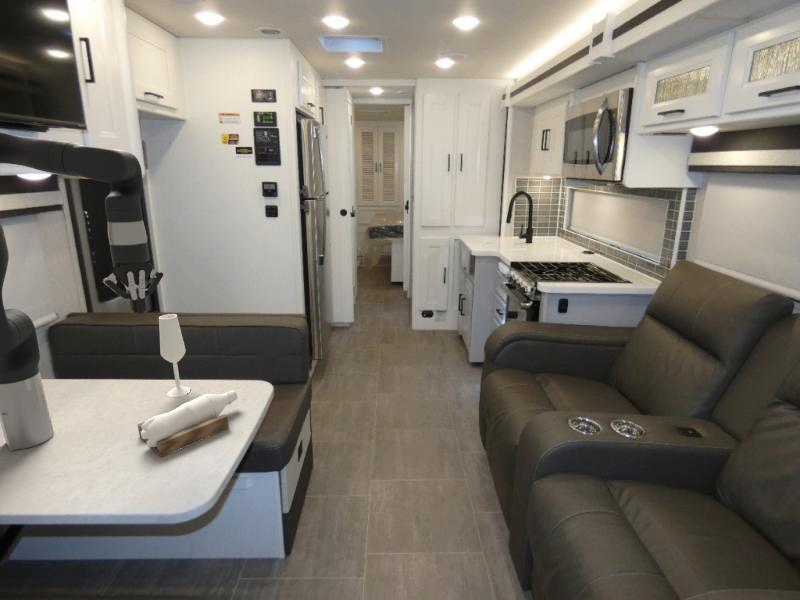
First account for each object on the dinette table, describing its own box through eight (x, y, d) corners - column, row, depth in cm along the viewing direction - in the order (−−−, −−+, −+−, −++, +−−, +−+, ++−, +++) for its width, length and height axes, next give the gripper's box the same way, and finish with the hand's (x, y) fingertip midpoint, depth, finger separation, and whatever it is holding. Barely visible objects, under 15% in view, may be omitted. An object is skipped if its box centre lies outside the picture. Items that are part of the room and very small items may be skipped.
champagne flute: (189, 385, 147) (179, 311, 140) (192, 393, 141) (181, 317, 134) (166, 390, 143) (154, 315, 137) (168, 399, 138) (155, 321, 131)
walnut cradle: (161, 457, 110) (159, 444, 109) (139, 436, 118) (137, 424, 117) (228, 428, 122) (227, 416, 121) (204, 411, 131) (203, 400, 130)
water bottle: (158, 446, 109) (246, 402, 129) (145, 418, 109) (234, 379, 129) (147, 453, 113) (233, 410, 133) (134, 426, 113) (222, 387, 134)
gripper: (152, 236, 114) (161, 305, 119) (90, 242, 105) (102, 316, 109) (165, 239, 109) (174, 311, 114) (100, 246, 100) (113, 323, 104)
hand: (139, 313), depth 112 cm, fingers closed
